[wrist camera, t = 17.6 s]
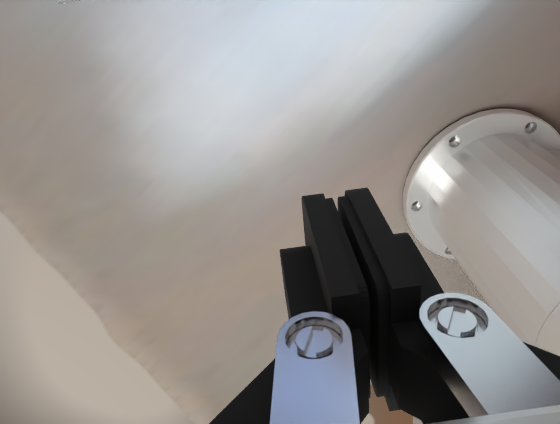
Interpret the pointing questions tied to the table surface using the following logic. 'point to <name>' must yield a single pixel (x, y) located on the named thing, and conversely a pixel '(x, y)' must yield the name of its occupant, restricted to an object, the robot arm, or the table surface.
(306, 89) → the table surface
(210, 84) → the table surface
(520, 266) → the robot arm
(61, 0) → the grey drawer box
